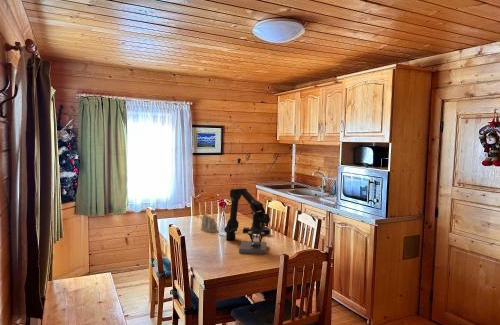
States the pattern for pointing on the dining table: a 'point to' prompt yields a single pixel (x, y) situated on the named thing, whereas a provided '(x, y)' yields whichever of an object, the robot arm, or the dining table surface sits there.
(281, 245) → the dining table surface
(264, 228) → the dark knit hat
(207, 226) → the ceramic cottage
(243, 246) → the duct plate
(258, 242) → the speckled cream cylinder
